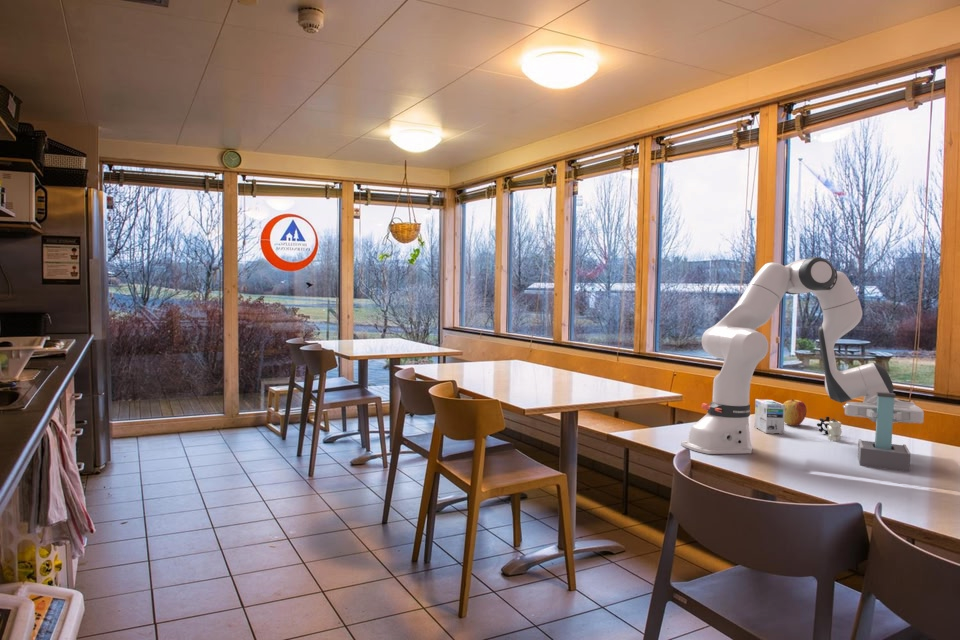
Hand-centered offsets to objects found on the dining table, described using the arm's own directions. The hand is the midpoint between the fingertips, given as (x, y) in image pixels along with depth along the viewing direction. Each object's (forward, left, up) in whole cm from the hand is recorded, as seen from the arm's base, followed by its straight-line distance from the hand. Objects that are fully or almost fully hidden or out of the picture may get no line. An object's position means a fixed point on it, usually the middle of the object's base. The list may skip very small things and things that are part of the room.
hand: (885, 416), depth 188 cm
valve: (+19, +33, -15) cm, 41 cm away
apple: (+23, +54, -15) cm, 61 cm away
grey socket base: (0, 0, -15) cm, 15 cm away
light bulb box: (+5, +48, -15) cm, 51 cm away
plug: (0, 0, -11) cm, 11 cm away
